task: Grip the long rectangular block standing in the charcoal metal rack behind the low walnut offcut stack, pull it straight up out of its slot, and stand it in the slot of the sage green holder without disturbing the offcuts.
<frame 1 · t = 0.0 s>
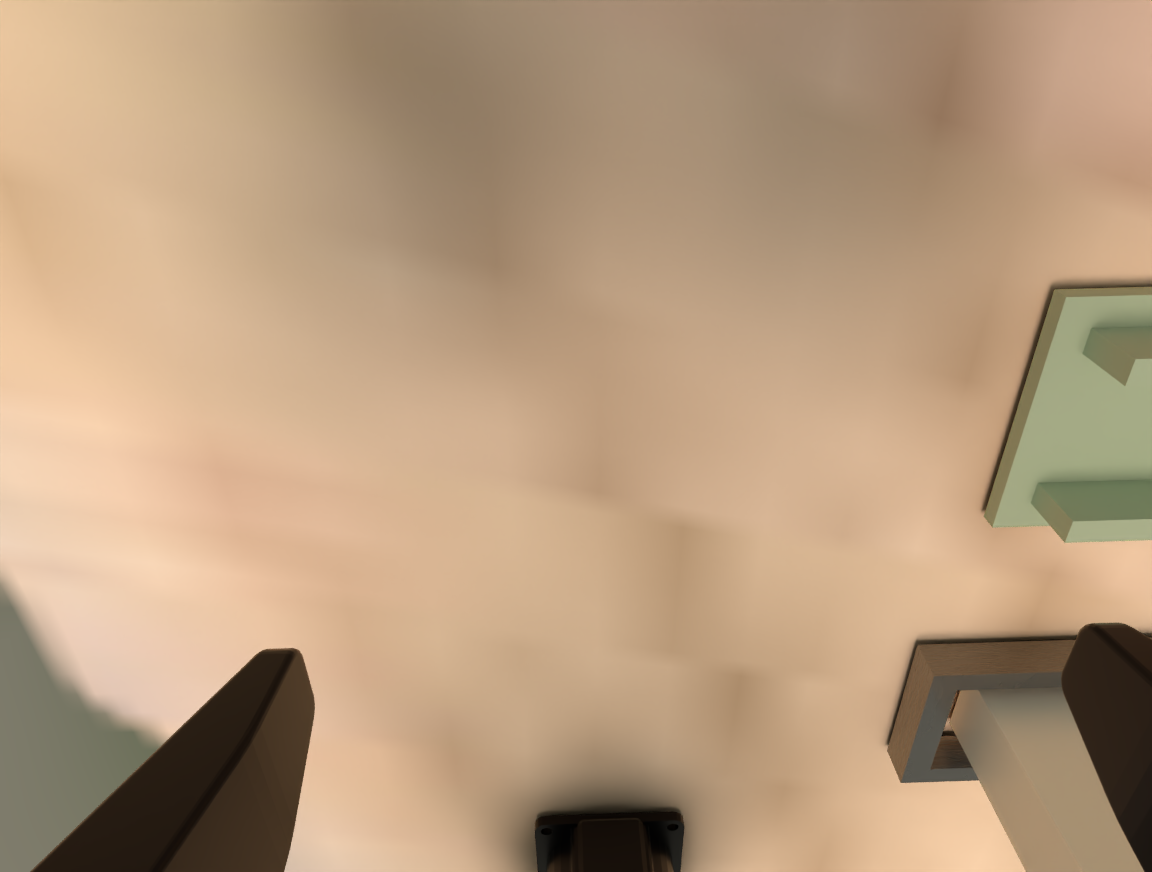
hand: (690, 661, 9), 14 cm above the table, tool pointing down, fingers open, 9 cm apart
rack: (1040, 695, 31), on the table
long rectangular block: (1107, 798, 27), in the rack
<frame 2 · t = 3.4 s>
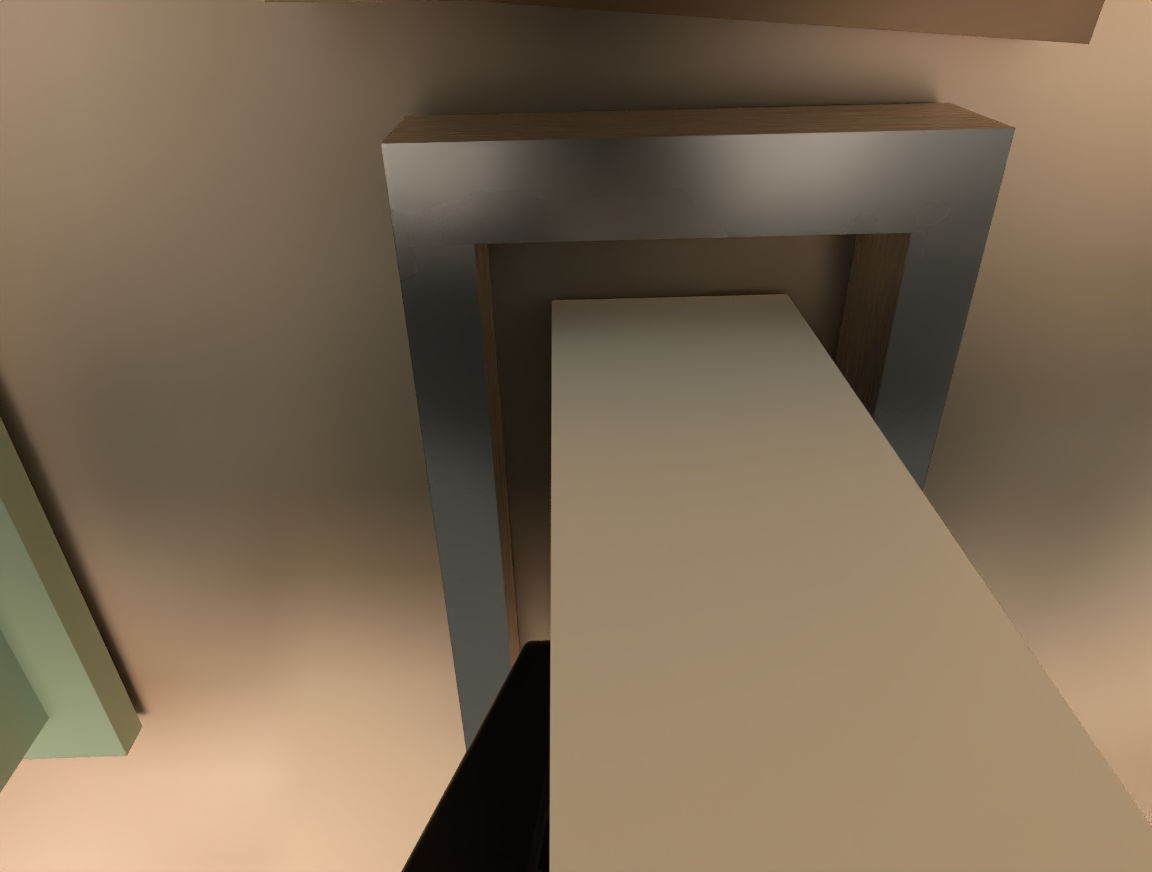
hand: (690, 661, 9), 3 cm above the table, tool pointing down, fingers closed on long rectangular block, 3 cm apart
rack: (660, 505, 12), on the table
long rectangular block: (712, 770, 8), in the rack, touching gripper
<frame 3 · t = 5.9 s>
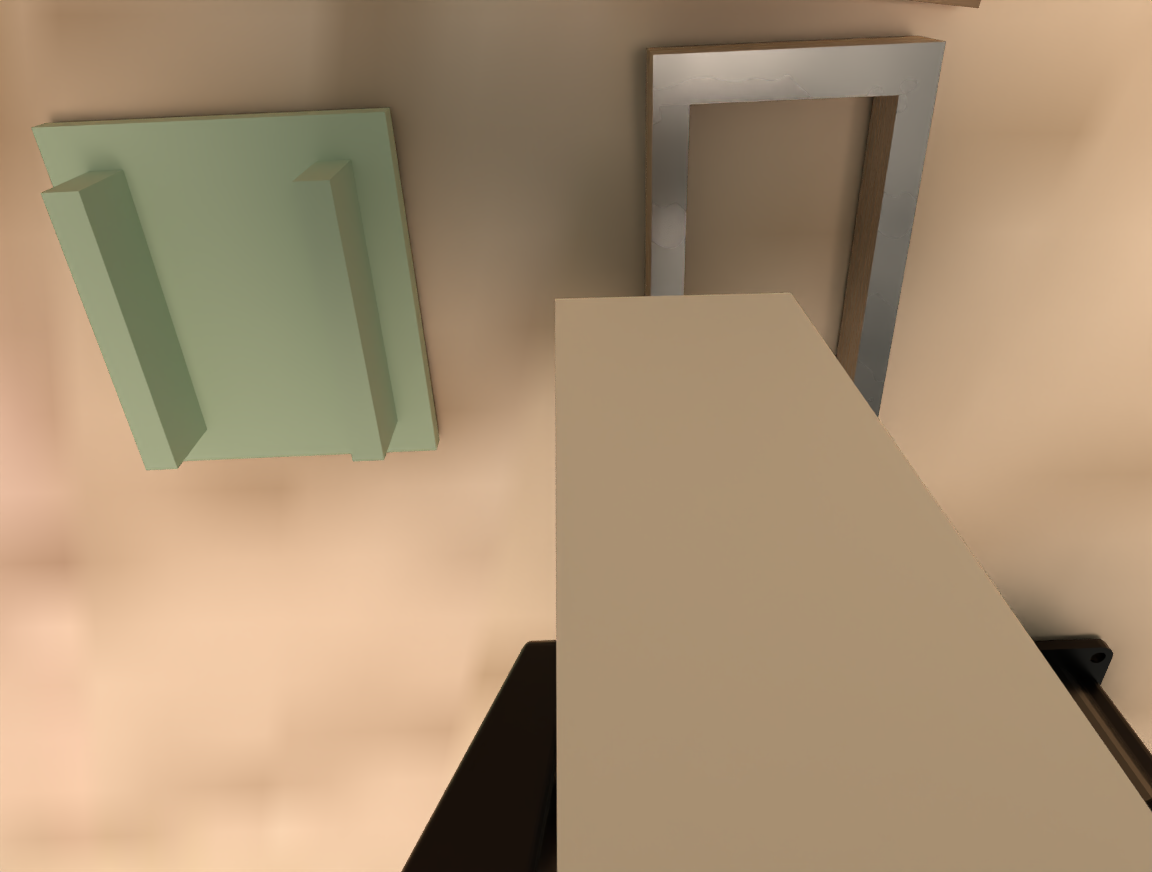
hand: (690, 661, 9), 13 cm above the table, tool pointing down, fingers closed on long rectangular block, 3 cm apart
rack: (762, 276, 21), on the table
holder: (264, 298, 21), on the table
long rectangular block: (716, 769, 8), point 15 cm above the table, touching gripper
when the fingers open (5 cm above the table, at t = 8.6 s): long rectangular block drops 1 cm, resting on holder.
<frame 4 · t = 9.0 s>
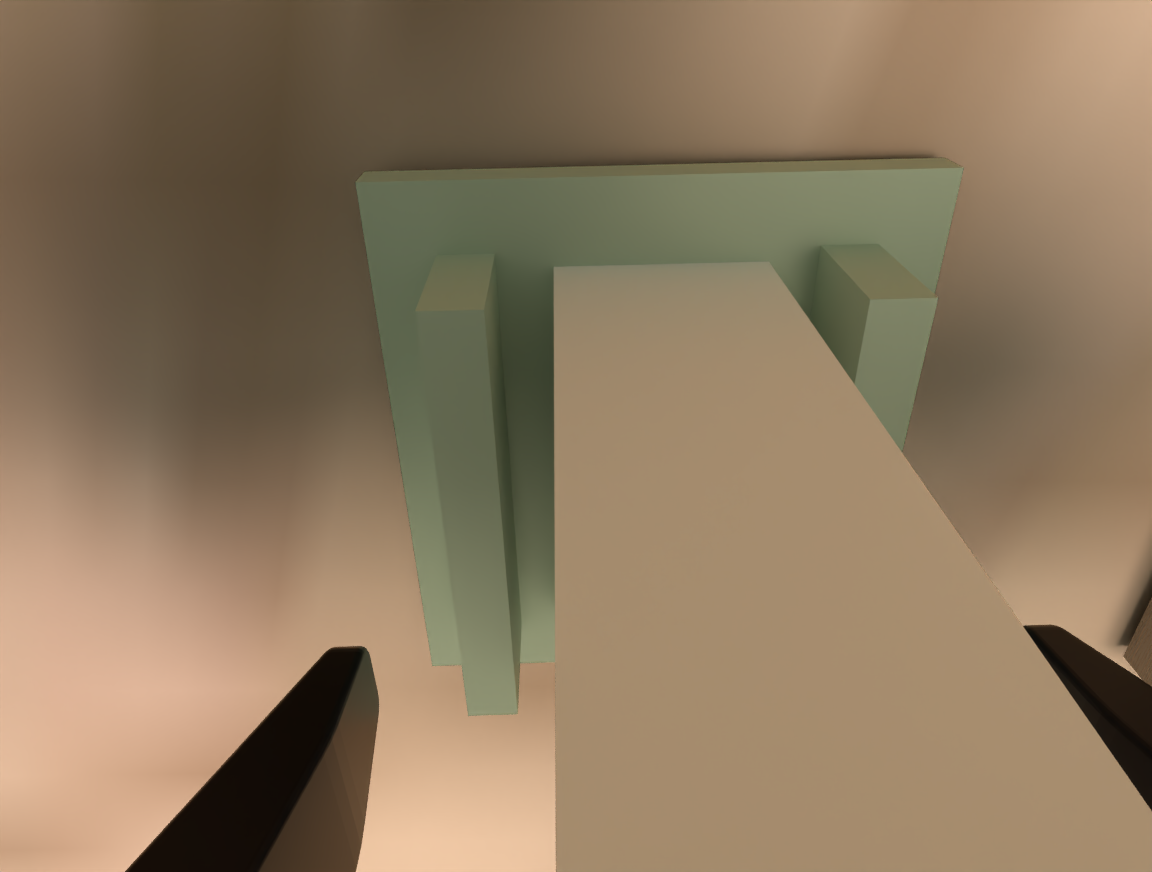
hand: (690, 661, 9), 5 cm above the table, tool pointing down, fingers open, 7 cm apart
holder: (646, 442, 13), on the table
long rectangular block: (696, 678, 9), point 5 cm above the table, touching holder
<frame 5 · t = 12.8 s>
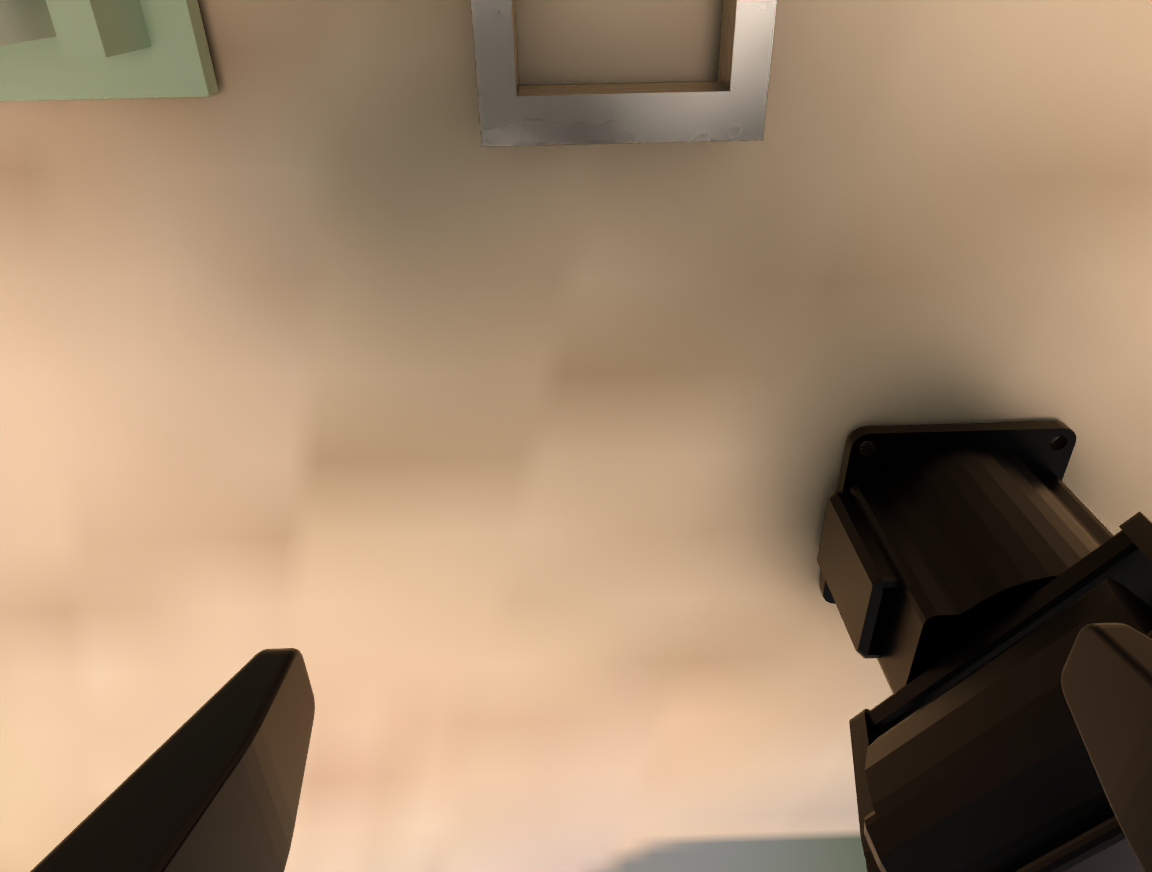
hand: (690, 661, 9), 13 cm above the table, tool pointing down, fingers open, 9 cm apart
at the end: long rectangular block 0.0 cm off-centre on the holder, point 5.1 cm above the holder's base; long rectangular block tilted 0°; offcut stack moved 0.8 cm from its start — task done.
